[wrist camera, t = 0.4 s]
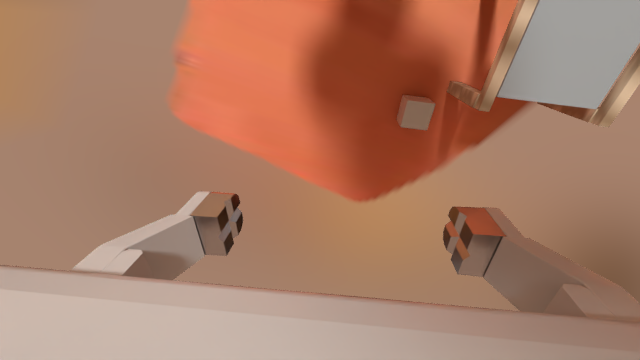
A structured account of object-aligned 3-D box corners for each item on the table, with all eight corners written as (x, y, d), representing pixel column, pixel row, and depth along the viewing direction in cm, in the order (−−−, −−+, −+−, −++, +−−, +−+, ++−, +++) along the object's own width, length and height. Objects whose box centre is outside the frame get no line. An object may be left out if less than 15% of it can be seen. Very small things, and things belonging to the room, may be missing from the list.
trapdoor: (556, -66, 30) (570, -72, 28) (686, -53, 29) (708, -58, 27) (489, 93, 39) (496, 96, 37) (586, 106, 38) (598, 109, 36)
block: (402, 94, 50) (407, 100, 46) (428, 97, 50) (435, 103, 45) (396, 119, 52) (400, 127, 48) (420, 122, 52) (426, 130, 48)
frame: (487, -28, 40) (544, -53, 28) (612, -14, 39) (724, -34, 27) (446, 91, 49) (476, 110, 37) (547, 104, 48) (610, 127, 36)
